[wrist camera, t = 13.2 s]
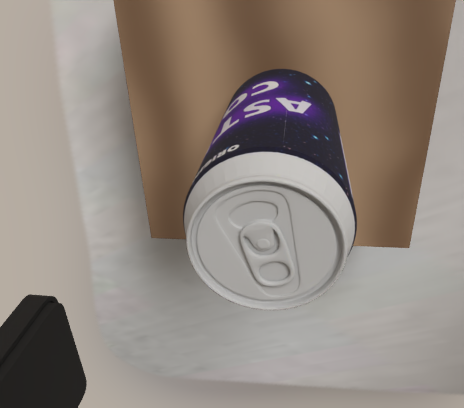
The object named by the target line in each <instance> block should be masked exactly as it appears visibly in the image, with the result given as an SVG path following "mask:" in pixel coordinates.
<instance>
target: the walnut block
mask: <svg viewBox="0 0 464 408" xmlns="http://www.w3.org/2000/svg"><path fill="white" fill-rule="evenodd" d="M455 2H456V0H114V6H115V12H116V18H117V25H118V31H119V37H120V43H121V50H122V56H123V62H124V69H125V75H126V81H127V87H128V94H129V100H130V106H131V112H132V119H133V125H134V131H135V137H136V144H137V150H138V156H139V162H140V169H141V175H142V181H143V188H144V194H145V200H146V206H147V213H148V219H149V225H150V231H151V238H168V239H186V235H185V231H184V225H183V209H184V203H185V199H186V196H187V194H188V191H189V189H190V187H191V185H192V183H193V180H194V178H195V176H196V174H197V172H198V170H199V168H200V165H201V163H202V161H203V159H204V157H205V155H206V152H207V150H208V148H209V146H210V144H211V142H212V140H213V137H214V135H215V133H216V131H217V129H218V127H219V125H220V122H221V120H222V118H223V116H224V114H225V112H226V110H227V107H228V105H229V103H230V101H231V99H232V97H233V95H234V94H235V92H236V91H237V90H238V88H239V87H240V86H241V85H242V84H243V83H244V82H246V81H247V80H248V79H250V78H251V77H253V76H255V75H257V74H259V73H261V72H264V71H268V70H272V69H291V70H296V71H299V72H302V73H305V74H307V75H309V76H310V77H312V78H314V79H315V80H316V81H318V82H319V83H320V84H321V85H322V86H323V87H324V88H325V89H326V91H327V92H328V93H329V95H330V97H331V99H332V101H333V103H334V106H335V110H336V115H337V120H338V125H339V130H340V135H341V140H342V145H343V150H344V155H345V160H346V165H347V170H348V175H349V180H350V185H351V190H352V195H353V200H354V205H355V210H356V216H357V231H356V237H355V241H354V244H353V246H372V247H398V248H409V246H410V241H411V235H412V230H413V225H414V220H415V214H416V209H417V204H418V198H419V193H420V188H421V182H422V177H423V172H424V166H425V161H426V156H427V150H428V145H429V140H430V135H431V129H432V124H433V119H434V113H435V108H436V103H437V97H438V92H439V87H440V81H441V76H442V71H443V65H444V60H445V55H446V50H447V44H448V39H449V34H450V28H451V23H452V18H453V12H454V7H455Z"/></svg>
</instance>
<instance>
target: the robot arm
mask: <svg viewBox="0 0 464 408" xmlns="http://www.w3.org/2000/svg"><path fill="white" fill-rule="evenodd" d="M85 390H86V377H85V374H84V371H83V368H82V364H81V361H80V358H79V355H78V351H77V348H76V345H75V342H74V338H73V335H72V332H71V329H70V325H69V322H68V319H67V316H66V312H65V309H64V307H63V305H62V304H61V303H58V301H57V299H56V298H55V297H53V296H42V295H28V296H26V297H25V298H24V299H23V300H22V301H21V302H20V304H19V305H18V306H17V307H16V309H15V310H14V311H13V312H12V314H11V315H10V316H9V317H8V318H7V320H6V321H5V322H4V323H3V325H2V326H1V327H0V408H78V406H79V404H80V402H81V400H82V398H83V396H84V393H85Z"/></svg>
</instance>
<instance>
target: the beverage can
mask: <svg viewBox="0 0 464 408" xmlns="http://www.w3.org/2000/svg"><path fill="white" fill-rule="evenodd" d="M183 225H184V231H185V235H186V246H187V252H188V256H189V259H190V262H191V264H192V266H193V268H194V270H195V272H196V273H197V274H198V276H199V277H200V278H201V280H202V281H203V282H204V283H205V284H206V285H207V286H208V287H209V288H210V289H211V290H213V291H214V292H215V293H217V294H218V295H220V296H221V297H223V298H225V299H227V300H228V301H231V302H233V303H236V304H238V305H241V306H245V307H248V308H253V309H259V310H285V309H290V308H295V307H298V306H301V305H304V304H307V303H309V302H311V301H313V300H315V299H317V298H318V297H320V296H321V295H322V294H324V293H325V292H326V291H327V290H328V289H329V288H331V287H332V286H333V284H334V283H335V282H336V280H337V279H338V278H339V276H340V274H341V272H342V270H343V268H344V265H345V262H346V259H347V256H348V255H349V253H350V251H351V249H352V247H353V244H354V241H355V237H356V231H357V216H356V210H355V205H354V200H353V195H352V190H351V185H350V180H349V175H348V170H347V165H346V160H345V155H344V150H343V145H342V140H341V135H340V130H339V125H338V120H337V115H336V110H335V106H334V103H333V101H332V99H331V97H330V95H329V93H328V92H327V91H326V89H325V88H324V87H323V86H322V85H321V84H320V83H319V82H318V81H316V80H315V79H314V78H312V77H310V76H309V75H307V74H305V73H302V72H299V71H296V70H291V69H272V70H268V71H264V72H261V73H259V74H257V75H255V76H253V77H251V78H250V79H248V80H247V81H246V82H244V83H243V84H242V85H241V86H240V87H239V88H238V90H237V91H236V92H235V94H234V95H233V97H232V99H231V101H230V103H229V105H228V107H227V110H226V112H225V114H224V116H223V118H222V120H221V122H220V125H219V127H218V129H217V131H216V133H215V135H214V137H213V140H212V142H211V144H210V146H209V148H208V150H207V152H206V155H205V157H204V159H203V161H202V163H201V165H200V168H199V170H198V172H197V174H196V176H195V178H194V180H193V183H192V185H191V187H190V189H189V191H188V194H187V196H186V199H185V203H184V209H183Z"/></svg>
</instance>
